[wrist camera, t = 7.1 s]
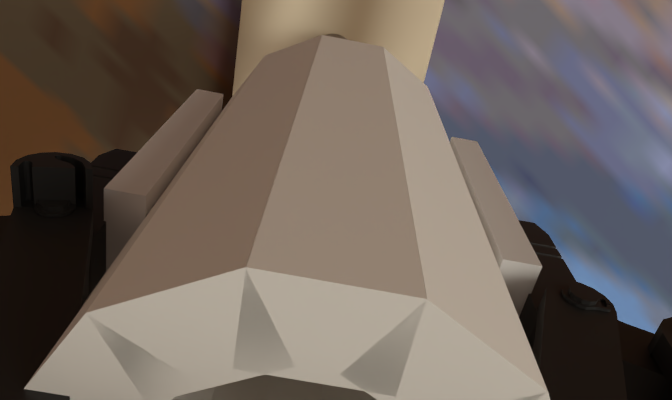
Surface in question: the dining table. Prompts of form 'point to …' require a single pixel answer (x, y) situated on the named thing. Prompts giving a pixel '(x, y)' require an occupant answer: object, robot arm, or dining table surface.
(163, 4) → the dining table surface
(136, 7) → the dining table surface
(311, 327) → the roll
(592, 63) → the dining table surface
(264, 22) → the stand
